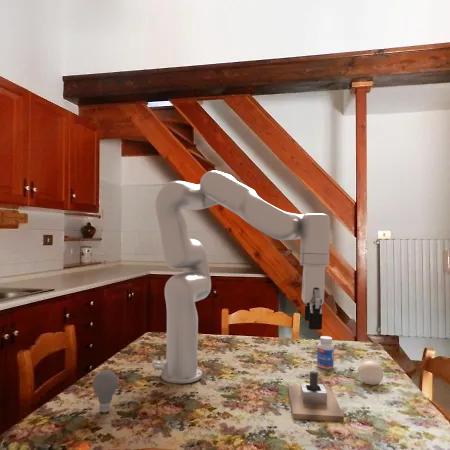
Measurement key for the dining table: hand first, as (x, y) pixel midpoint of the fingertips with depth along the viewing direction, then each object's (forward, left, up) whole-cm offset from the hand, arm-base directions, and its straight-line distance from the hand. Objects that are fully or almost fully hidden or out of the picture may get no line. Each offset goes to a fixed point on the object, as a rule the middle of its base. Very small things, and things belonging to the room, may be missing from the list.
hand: (312, 324), depth 107 cm
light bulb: (-52, -12, -21) cm, 57 cm away
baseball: (+19, +16, -21) cm, 33 cm away
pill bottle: (+8, +30, -21) cm, 38 cm away
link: (0, -1, -19) cm, 19 cm away
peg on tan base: (0, -1, -21) cm, 21 cm away
